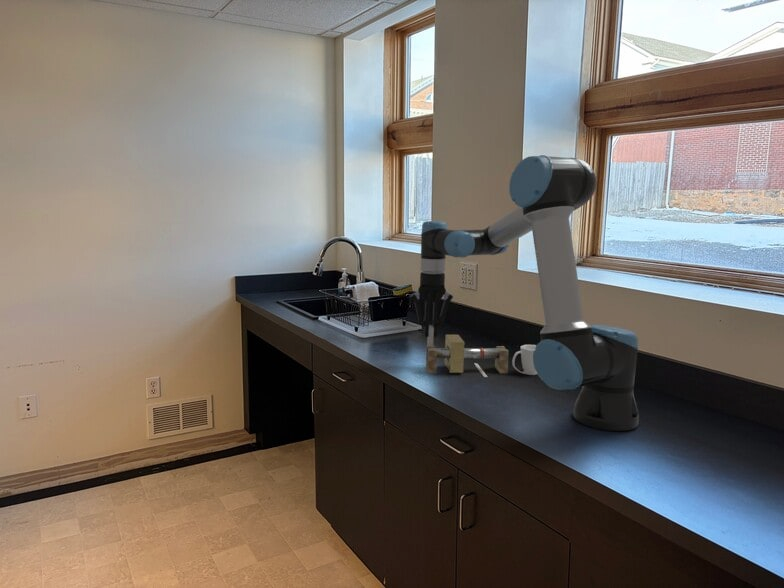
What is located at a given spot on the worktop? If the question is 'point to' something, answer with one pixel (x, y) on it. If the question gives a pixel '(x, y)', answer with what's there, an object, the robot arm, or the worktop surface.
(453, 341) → the collar
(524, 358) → the cup
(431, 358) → the cradles
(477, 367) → the tick mark
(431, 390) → the worktop surface
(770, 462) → the worktop surface
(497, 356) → the pipe
